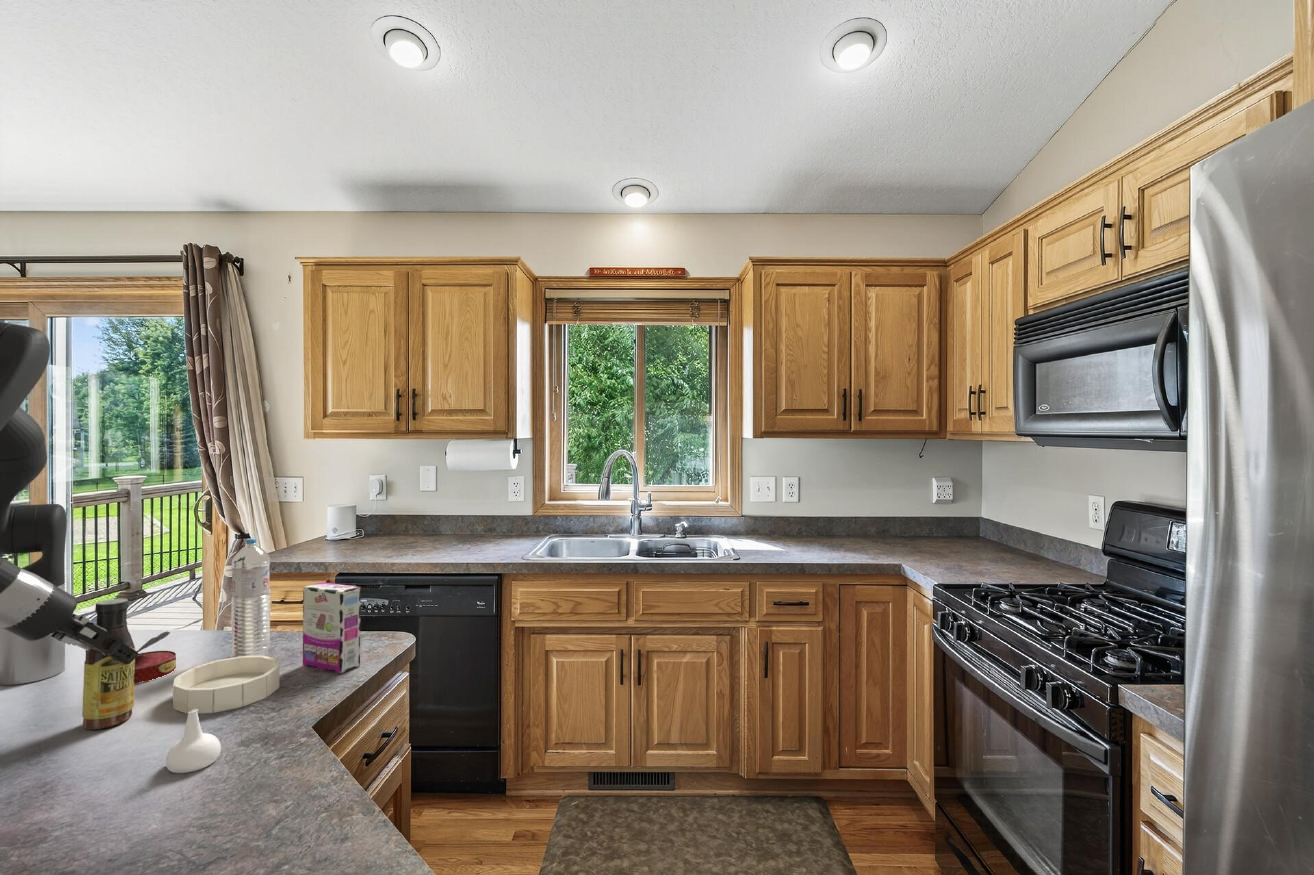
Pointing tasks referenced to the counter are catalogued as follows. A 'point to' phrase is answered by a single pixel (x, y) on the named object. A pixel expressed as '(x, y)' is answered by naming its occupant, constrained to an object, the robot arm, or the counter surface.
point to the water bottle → (250, 602)
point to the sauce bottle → (108, 672)
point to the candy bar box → (331, 627)
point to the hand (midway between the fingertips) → (119, 654)
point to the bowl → (226, 684)
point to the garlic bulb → (193, 748)
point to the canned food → (154, 662)
